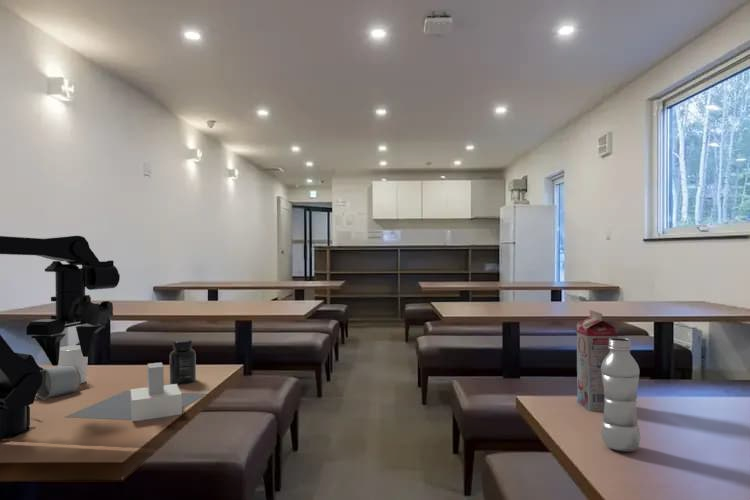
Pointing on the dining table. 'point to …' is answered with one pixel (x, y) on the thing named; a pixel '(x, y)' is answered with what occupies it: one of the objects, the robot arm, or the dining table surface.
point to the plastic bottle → (620, 397)
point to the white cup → (73, 359)
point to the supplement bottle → (182, 363)
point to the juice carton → (592, 360)
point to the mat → (124, 407)
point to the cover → (155, 397)
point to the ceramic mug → (59, 381)
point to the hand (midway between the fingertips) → (71, 360)
